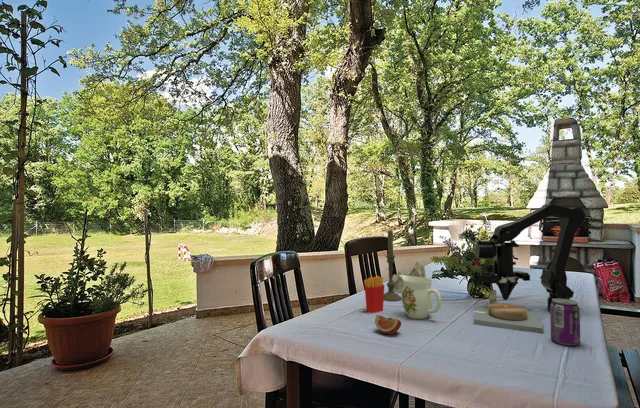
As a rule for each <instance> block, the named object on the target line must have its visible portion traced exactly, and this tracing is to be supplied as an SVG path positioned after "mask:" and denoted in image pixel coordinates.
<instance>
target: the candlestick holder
mask: <svg viewBox="0 0 640 408" xmlns="http://www.w3.org/2000/svg"><path fill="white" fill-rule="evenodd" d="M385 257H386V258H387V259H386V262H387V263H388V269H387V270H388V278H389V279H388V282H387V283H386V287H387V288H388V291H387V292H384V302H385V301H387V302H399V301H402V295H399V294H398V293H397V292H394V291H393V288H394V286H395V283H393V280H392V278H393V275H394V274H393V271H394V268H393V267H394V266H393V264H394V263H395V258H396V256H395V255H394V230H392V229H390V230H387V255H386V256H385Z"/></svg>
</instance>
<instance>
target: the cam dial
mask: <svg viewBox="0 0 640 408" xmlns="http://www.w3.org/2000/svg"><path fill="white" fill-rule="evenodd" d="M487 306H488V312H489V314H490V315H491V316H494V317H497V318H501V319H507V320H524V319H527V311H528V308H526V307H524V306H522V305H520V304H519V305H518V304H513V303H508V302H507V303H505V302H499V301H497V290H496V289H488V305H487Z"/></svg>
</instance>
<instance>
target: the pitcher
mask: <svg viewBox="0 0 640 408" xmlns="http://www.w3.org/2000/svg"><path fill="white" fill-rule="evenodd" d="M399 276H400V277H401V278H402V279H403V284H404V286H403V289H402V293H401V298H402V299H401V303H402V307H403V309H404V312H405V314H406V315H407V317H409V318H410V319H417V320H424V319H427V318H428V316H429V315H430V314H435V313H437V312H438V311H439V310H441V306H442V296H441V294H440V292H439V291H438V290H437V289H436V288H432V282H433V280H432V279H430V278H427V277H426V278H423V277H416V276H408V275H399ZM433 294H435V296H436V299H437V302H436V303H437V304H436V306H435V307H434V308H433V304H434V303H433V302H434V295H433ZM432 308H433V309H432Z"/></svg>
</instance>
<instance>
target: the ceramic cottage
mask: <svg viewBox="0 0 640 408" xmlns="http://www.w3.org/2000/svg"><path fill="white" fill-rule="evenodd" d="M399 275H408V276H416V277H423V278H427V276H426V269H425V264H423V263H422V264H420V261H418V260H417V261H416V262H415V265H414V266H413V267H412V268H411V270H410V272H406V271H404V272H403V273H402V272H401V271H400V270H399V271H397V274H396V273H395V274H393V275H392V276H393V277H392V280H393V283H395V286H394V288H393V291H395V293H399V294H402V289H403V286H404V284H403V279H402V278H401V277H400V276H399Z"/></svg>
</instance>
